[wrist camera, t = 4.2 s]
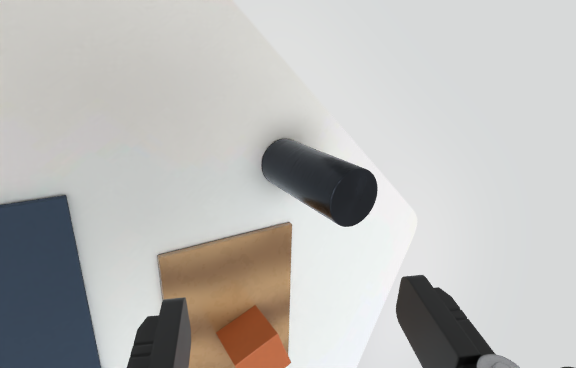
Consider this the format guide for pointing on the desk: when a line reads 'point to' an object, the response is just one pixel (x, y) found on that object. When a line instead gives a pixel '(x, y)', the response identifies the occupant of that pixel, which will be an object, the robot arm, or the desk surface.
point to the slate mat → (42, 289)
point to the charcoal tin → (321, 181)
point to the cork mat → (230, 287)
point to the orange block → (253, 342)
